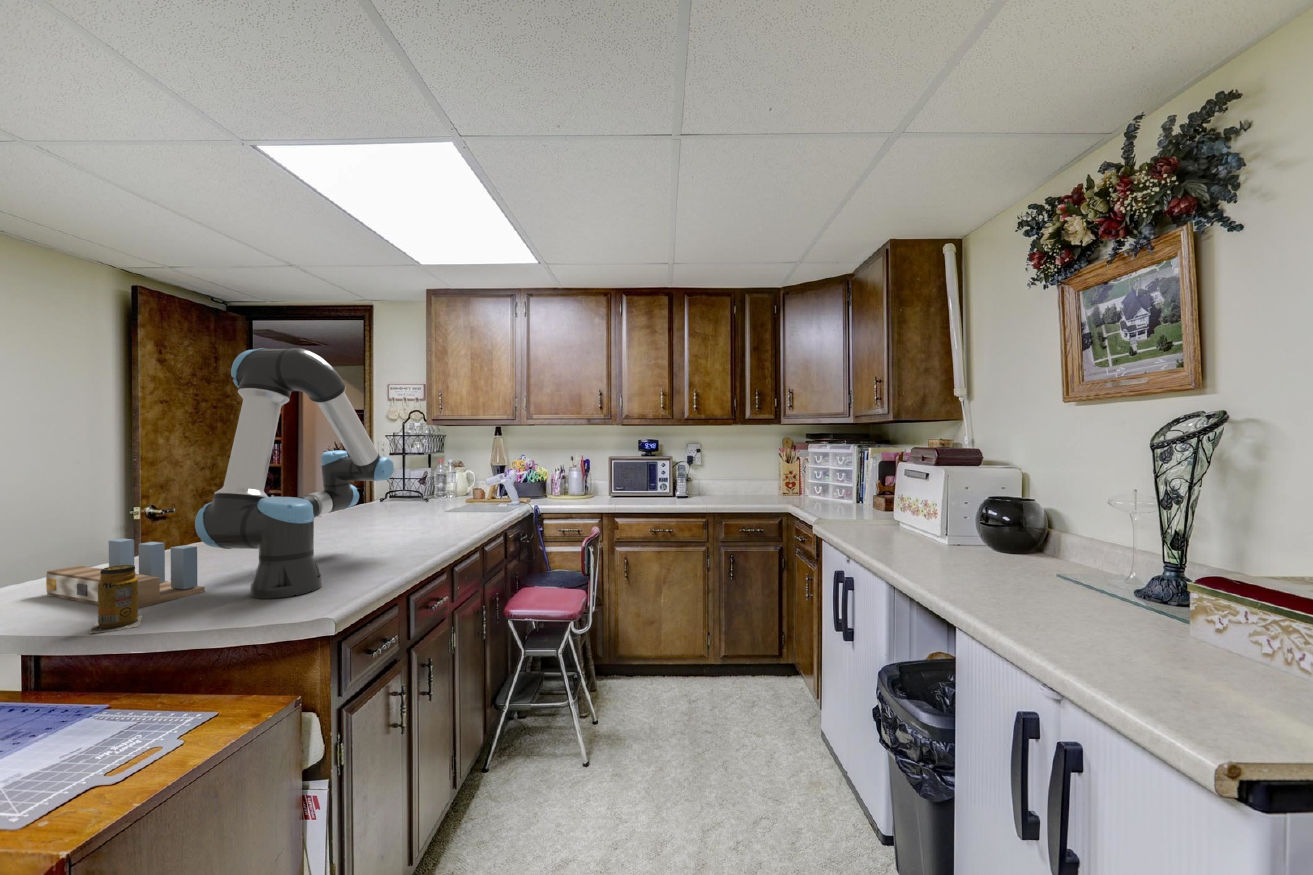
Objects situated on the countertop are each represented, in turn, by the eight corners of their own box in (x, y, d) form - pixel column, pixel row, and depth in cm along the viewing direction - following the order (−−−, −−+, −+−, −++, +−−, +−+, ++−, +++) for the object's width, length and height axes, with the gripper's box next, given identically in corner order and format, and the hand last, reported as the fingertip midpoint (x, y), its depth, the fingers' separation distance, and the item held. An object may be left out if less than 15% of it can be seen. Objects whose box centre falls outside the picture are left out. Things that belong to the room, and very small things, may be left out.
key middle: (165, 581, 143) (164, 542, 143) (151, 584, 140) (150, 545, 140) (153, 579, 145) (152, 541, 145) (139, 582, 142) (138, 543, 142)
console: (204, 591, 139) (204, 567, 139) (123, 611, 124) (123, 584, 124) (125, 579, 151) (125, 557, 150) (42, 596, 135) (42, 571, 135)
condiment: (142, 616, 121) (141, 561, 121) (138, 626, 114) (138, 569, 114) (95, 623, 116) (94, 566, 116) (88, 635, 110) (87, 575, 109)
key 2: (197, 586, 139) (197, 546, 138) (183, 589, 136) (183, 549, 136) (184, 584, 140) (184, 545, 140) (170, 587, 137) (170, 547, 137)
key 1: (134, 576, 148) (134, 539, 147) (120, 579, 145) (119, 541, 145) (123, 575, 149) (122, 538, 149) (109, 577, 146) (108, 540, 146)
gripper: (328, 520, 169) (252, 543, 147) (296, 515, 173) (217, 537, 151) (327, 496, 168) (250, 516, 146) (294, 492, 172) (214, 510, 150)
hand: (233, 527), depth 149 cm, fingers closed
